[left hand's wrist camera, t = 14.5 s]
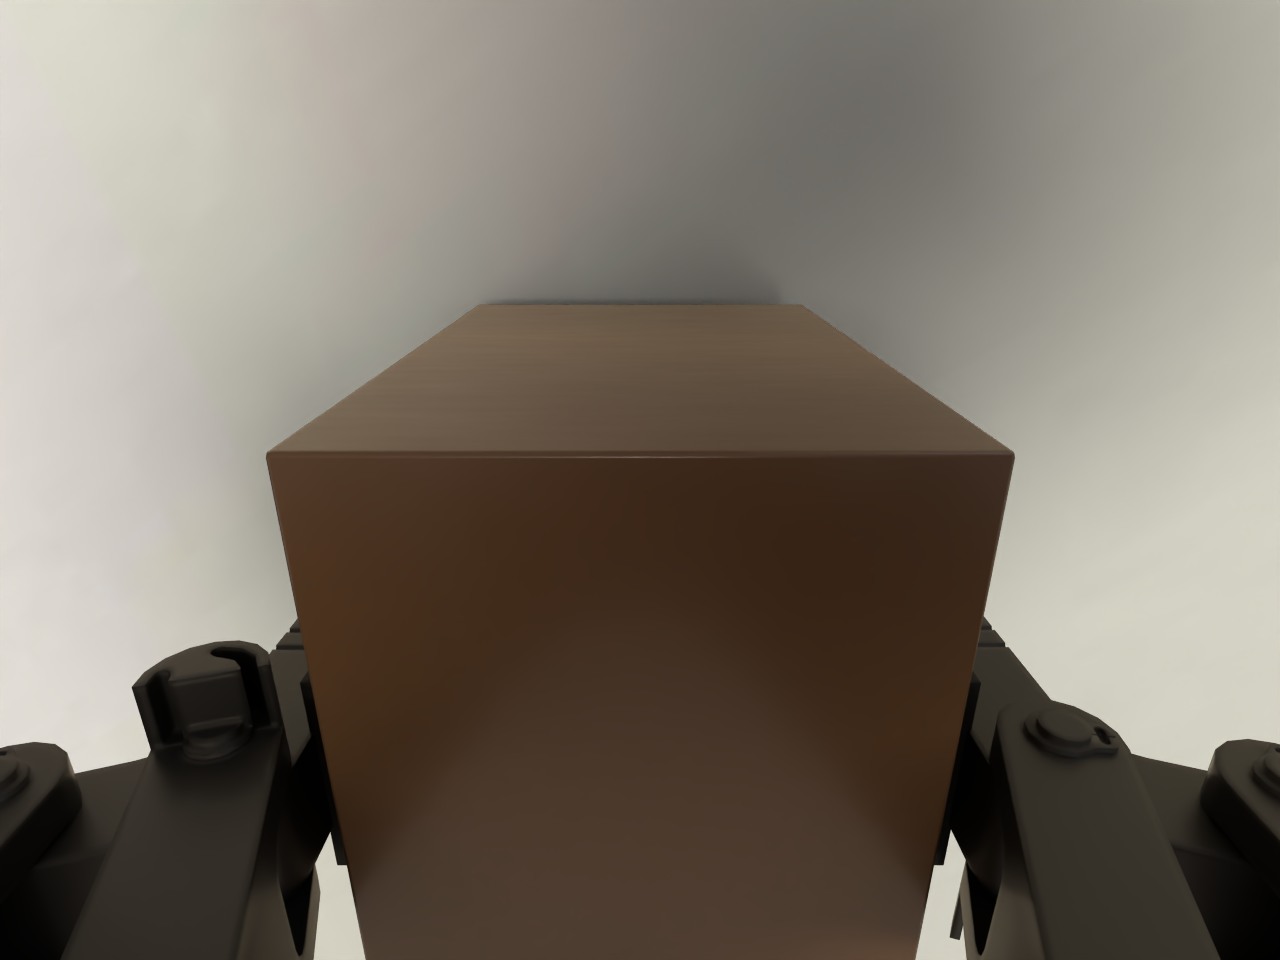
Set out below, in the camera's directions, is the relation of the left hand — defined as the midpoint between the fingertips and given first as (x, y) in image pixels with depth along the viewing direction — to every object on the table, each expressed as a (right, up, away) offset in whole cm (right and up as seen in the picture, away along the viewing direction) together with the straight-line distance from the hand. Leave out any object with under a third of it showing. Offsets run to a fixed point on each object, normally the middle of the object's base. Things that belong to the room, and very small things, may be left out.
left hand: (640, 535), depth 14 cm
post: (0, -31, +13) cm, 33 cm away
